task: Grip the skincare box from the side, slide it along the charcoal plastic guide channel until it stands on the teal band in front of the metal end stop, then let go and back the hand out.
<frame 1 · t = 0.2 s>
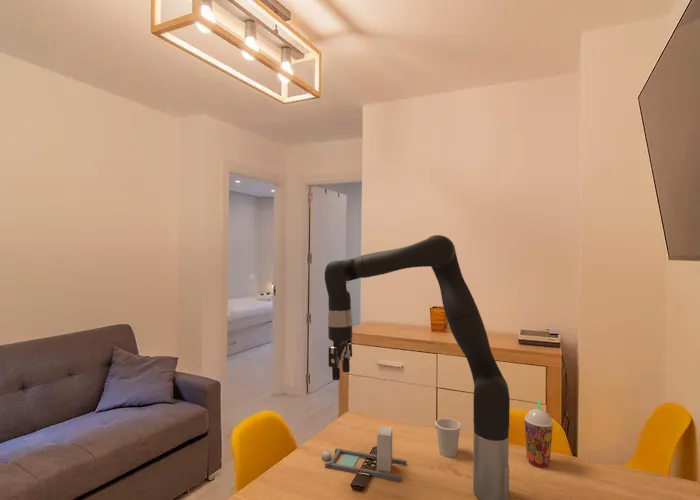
hand: (341, 375, 125), 29 cm above the table, tool pointing down, fingers open, 8 cm apart
guide channel: (366, 465, 126), on the table
skincare box: (384, 469, 124), resting in guide channel
smoothie: (538, 463, 128), on the table
dixie cup: (448, 453, 134), on the table
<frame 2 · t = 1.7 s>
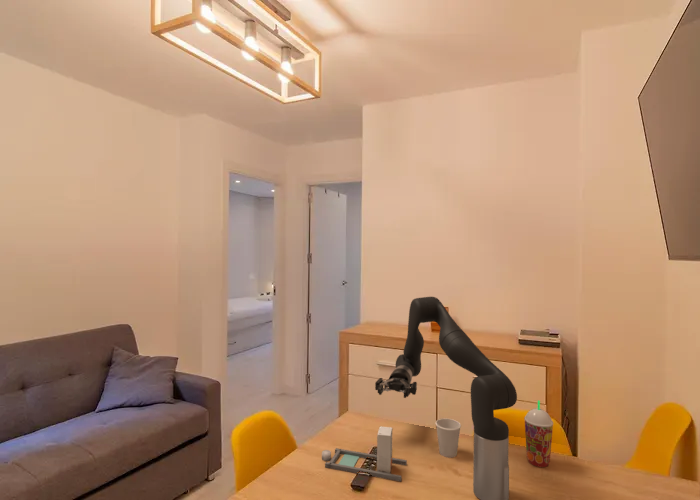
hand: (392, 393, 135), 20 cm above the table, tool horizontal, fingers open, 8 cm apart
nothing on the table moved.
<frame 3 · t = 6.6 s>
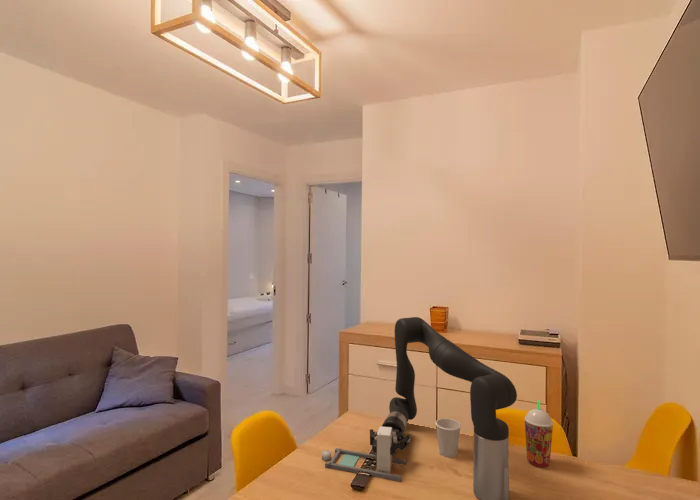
hand: (383, 450, 122), 7 cm above the table, tool horizontal, fingers closed on skincare box, 4 cm apart
skincare box: (384, 469, 124), resting in guide channel, touching gripper
everything else where it was.
when the fingers open (7 cm above the table, at t = 10.3 s): skincare box stays where it is, resting on guide channel.
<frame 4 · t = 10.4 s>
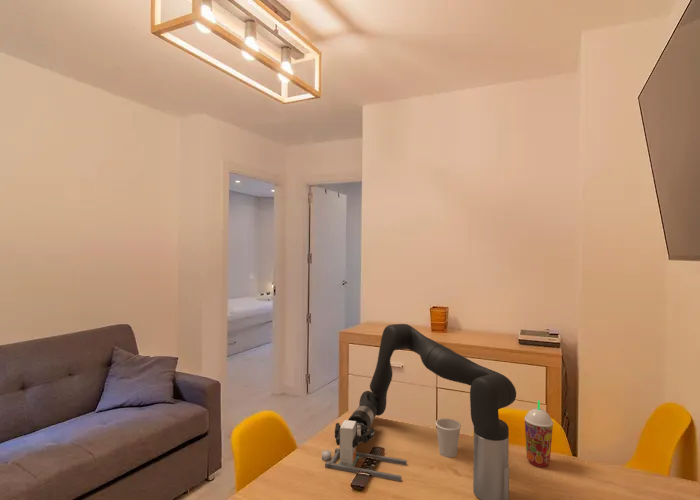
hand: (345, 443, 126), 7 cm above the table, tool horizontal, fingers open, 4 cm apart
skincare box: (348, 461, 128), resting on guide channel
everything else where it was.
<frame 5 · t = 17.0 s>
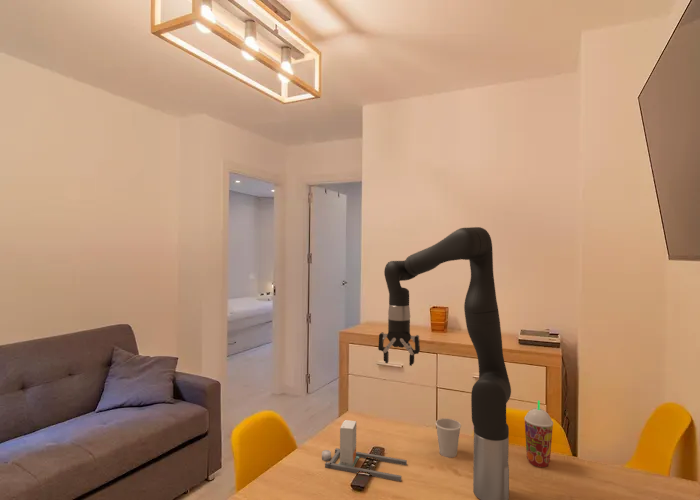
hand: (398, 363, 140), 28 cm above the table, tool pointing down, fingers open, 8 cm apart
nothing on the table moved.
at the end: skincare box 0.1 cm from the target spot, resting on guide channel; skincare box tilted 0°; the gripper is holding nothing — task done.
